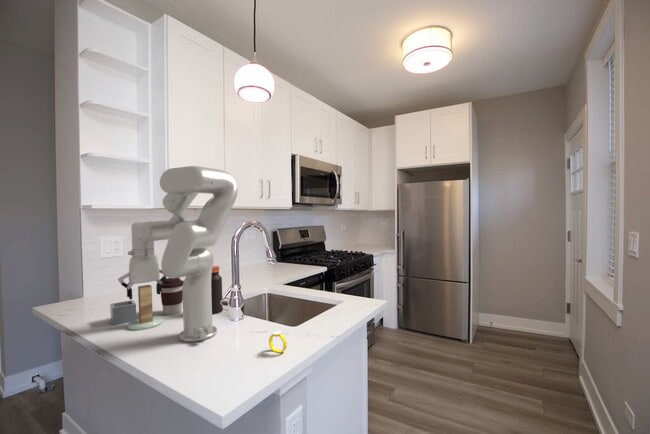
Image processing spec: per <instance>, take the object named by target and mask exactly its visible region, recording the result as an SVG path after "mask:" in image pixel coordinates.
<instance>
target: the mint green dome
mask: <svg viewBox="0 0 650 434" xmlns="http://www.w3.org/2000/svg"><path fill="white" fill-rule="evenodd" d="M163 323H164V319H163V317H162V316H156V315H155V316H153V322H149V323H144V324H141V323H140V322H139V318H136V320H134V321H132V322H128V323H127V330H130V331H144V330H149V329H153V328H155V327H156V328H157V327H158V326H161V325H162V324H163Z"/></svg>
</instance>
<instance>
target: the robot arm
mask: <svg viewBox="0 0 650 434" xmlns="http://www.w3.org/2000/svg"><path fill="white" fill-rule="evenodd" d="M159 186H160V189H161V191H163V192H165V193H166V194H165V196H164V197H163V199H162V205H163V207H164V209H165V210H167V211H168V213H170V214H173V215H172V216H171V218H170V219H169V220H155V221H153V220H152V221H139V222H133V223H132V224H131V227H130V228H131V250H130V251H127V255H128V256H131V257H130V259H129V263H128V264H129V266H128V272H127V273H125V274H123V275H121V276H120V277H118V278H117V281H118V282H119V284H120V285H121V286H122V287H124V288H126V297H127V298H128V299H129V300H133V289H132V287H133V286H134V285H136V284H143V283H144V284H145V283H151V282H156V284H155V285H156V287H155V288H156V294H157V295H161V291H162V288H161V284H162V283H163V282H164V281H165V279H166V278H180V279H181V278H184V277H185V278H184V280H183V281H184V283H183V287H182V291H183V293H182V294H183V300H182V316H183V317H182V319H183V330H182V331H181V332H179V334H178V339H179V340H180V341H183V342H187V343H188V342H189V343H191V342H192V343H193V342H200V341H204V340H207V339H211V338H212V337H214V336H215V335H217V333H218V328H217V327H216V326H215V325H213V314H212V298H211V275H212V268H213V266H214V254H213V252H212V251H211V249H209V248H210V247H213V246H214V245H216V243H217V242H218V240H219V238H220V236H221V234H222V231H223V229H224V226H225V223H226V220H227V219H228V216H229V214H230V212H231V210H232V208H233V206H234V204H235V202H236V199H237V196H238V184H237V181H236V179H235V177H234V176H233V175H232V174H231V173H230V172H227V171H225V170H222V169H217V168H212V167H211V168H210V167H205V166H198V165H197V166H196V165H188V166H181V167H180V166H179V167H171V168H170V167H169V169H168V168H167V169H166V170H165V171H163V172H162V174H161V176H160V178H159ZM198 194H211V195H212V197H210V198H209V199H208V200H207V201H206V202H205V204H204V206H203V207H202V209H201V212H200V214H199V216H198V218H197V219H194V220H187V212H186V211H187V209H188V208H189V207H190V205H191V204H192V202H193V201H194V199H196V197H197V196H198ZM166 240H167V243H166V246H165V248H164V251H163V255H162V257H161V264H159V260H158V256H157V255H155V241H157V242H158V241H166ZM159 265H161V267H159ZM160 268H161V269H160ZM160 274H162V277H161V276H160ZM160 277H161V278H160ZM127 278H128V283H126V282H125V281H124V280H125V279H127Z"/></svg>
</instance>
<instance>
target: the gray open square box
mask: <svg viewBox="0 0 650 434" xmlns="http://www.w3.org/2000/svg"><path fill="white" fill-rule="evenodd" d="M109 307H110V309H109V311H110V323H111V324H112V326H118V325H122V324H129V323H130V322H132V321H134V320H137V303H136V302H135V301H134V300H133V299H129V300H125V301H119V302H114V303H110V304H109Z"/></svg>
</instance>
